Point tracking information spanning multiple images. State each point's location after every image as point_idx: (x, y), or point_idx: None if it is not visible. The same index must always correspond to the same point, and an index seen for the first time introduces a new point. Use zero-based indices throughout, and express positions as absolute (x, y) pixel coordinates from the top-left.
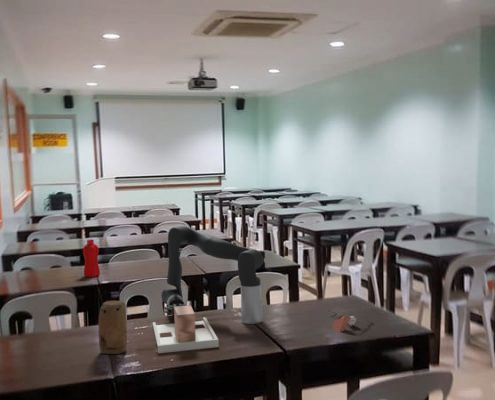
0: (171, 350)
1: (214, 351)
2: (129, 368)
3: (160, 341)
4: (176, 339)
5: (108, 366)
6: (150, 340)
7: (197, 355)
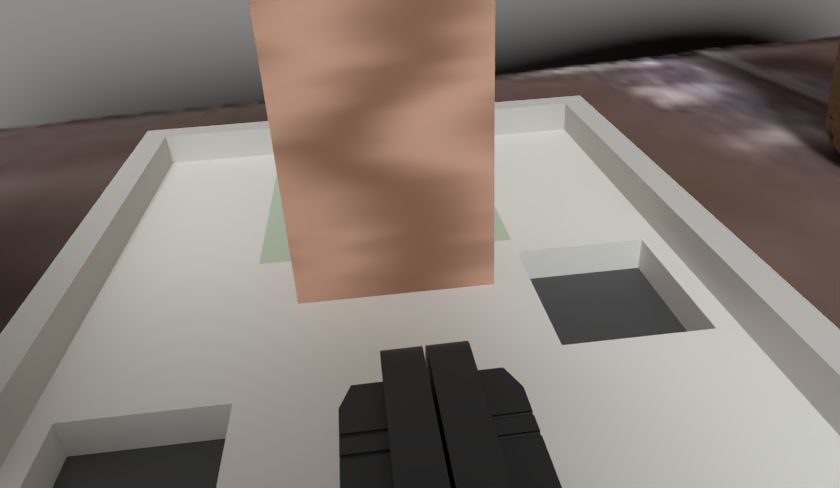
0: None
1: None
2: (670, 77)
3: (606, 188)
4: None
5: (797, 84)
6: None
7: None
